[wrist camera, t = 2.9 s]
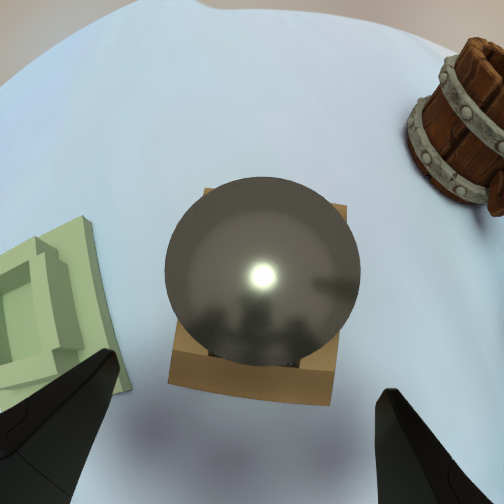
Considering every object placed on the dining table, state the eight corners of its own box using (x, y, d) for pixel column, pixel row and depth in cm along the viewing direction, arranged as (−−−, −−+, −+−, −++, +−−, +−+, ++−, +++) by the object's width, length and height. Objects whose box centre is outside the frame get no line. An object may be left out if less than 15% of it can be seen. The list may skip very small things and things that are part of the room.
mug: (467, 109, 25) (540, 36, 10) (503, 231, 23) (611, 193, 9) (383, 97, 25) (448, -13, 10) (419, 239, 23) (553, 185, 8)
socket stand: (132, 389, 18) (101, 397, 14) (13, 413, 17) (-22, 418, 13) (91, 223, 22) (62, 197, 18) (-11, 275, 21) (-43, 261, 16)
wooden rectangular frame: (319, 397, 18) (329, 405, 15) (180, 378, 18) (167, 383, 15) (336, 224, 21) (346, 205, 19) (211, 208, 22) (204, 187, 19)
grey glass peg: (262, 366, 19) (274, 408, 5) (215, 325, 19) (127, 272, 6) (303, 318, 19) (393, 253, 6) (256, 280, 20) (253, 147, 7)
